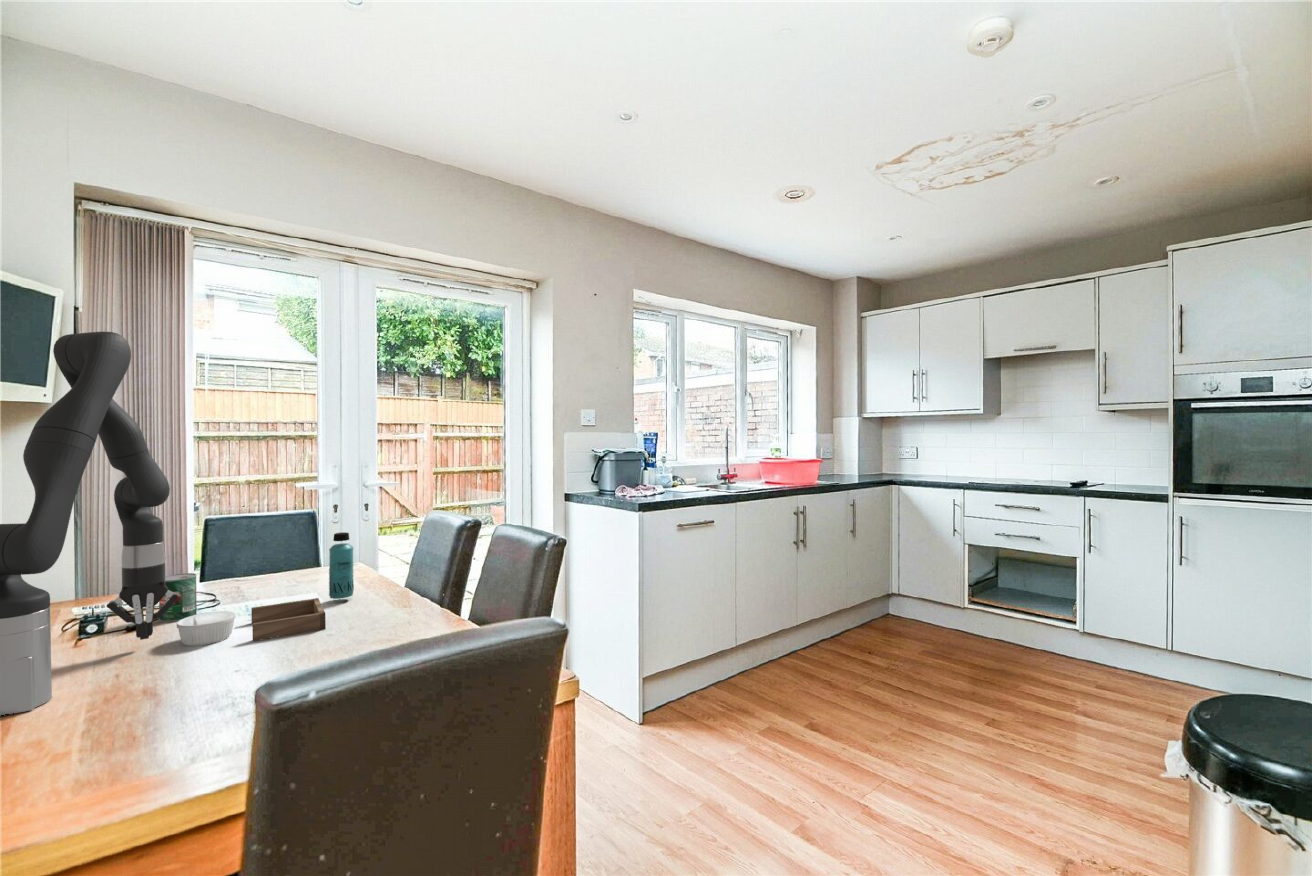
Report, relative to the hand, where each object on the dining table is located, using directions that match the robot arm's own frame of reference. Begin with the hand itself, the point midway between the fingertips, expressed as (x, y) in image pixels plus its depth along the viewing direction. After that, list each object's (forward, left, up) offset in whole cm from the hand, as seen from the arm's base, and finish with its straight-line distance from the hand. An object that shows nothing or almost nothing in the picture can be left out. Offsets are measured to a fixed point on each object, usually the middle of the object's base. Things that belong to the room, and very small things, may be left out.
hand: (144, 638), depth 137 cm
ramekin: (0, -11, -3) cm, 12 cm away
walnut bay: (0, -27, -2) cm, 27 cm away
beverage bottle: (+17, -42, -3) cm, 46 cm away
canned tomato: (+25, -4, -3) cm, 25 cm away
